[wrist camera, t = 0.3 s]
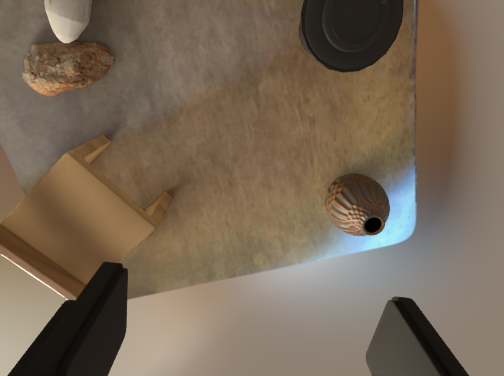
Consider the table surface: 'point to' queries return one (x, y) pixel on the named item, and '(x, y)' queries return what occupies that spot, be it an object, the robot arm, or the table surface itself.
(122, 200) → the shelf
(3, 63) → the table surface
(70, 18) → the rocket model
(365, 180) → the vase
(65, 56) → the brown rock
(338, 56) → the coffee cup
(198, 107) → the table surface
